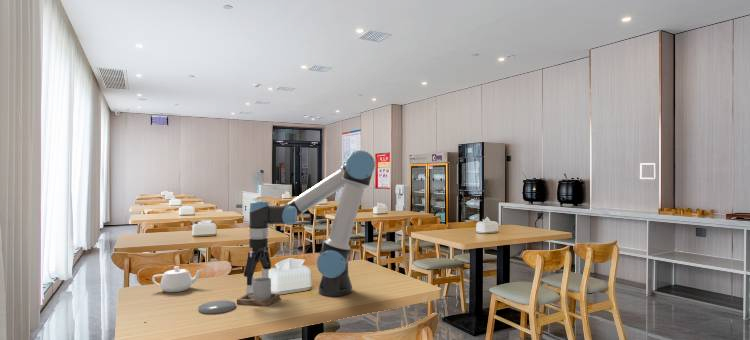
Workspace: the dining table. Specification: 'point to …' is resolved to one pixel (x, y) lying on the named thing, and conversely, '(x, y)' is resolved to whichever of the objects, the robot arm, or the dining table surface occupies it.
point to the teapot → (176, 280)
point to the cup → (261, 289)
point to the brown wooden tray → (258, 302)
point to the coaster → (216, 307)
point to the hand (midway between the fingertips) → (257, 288)
